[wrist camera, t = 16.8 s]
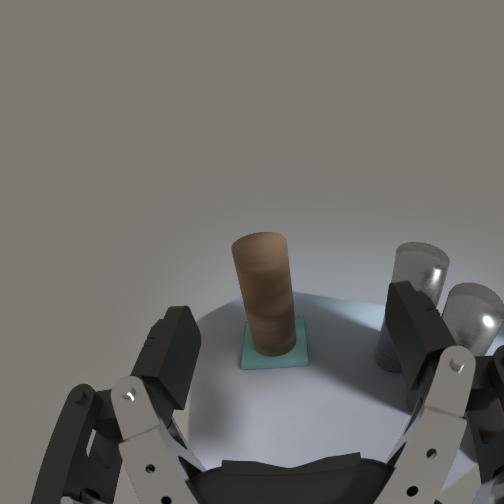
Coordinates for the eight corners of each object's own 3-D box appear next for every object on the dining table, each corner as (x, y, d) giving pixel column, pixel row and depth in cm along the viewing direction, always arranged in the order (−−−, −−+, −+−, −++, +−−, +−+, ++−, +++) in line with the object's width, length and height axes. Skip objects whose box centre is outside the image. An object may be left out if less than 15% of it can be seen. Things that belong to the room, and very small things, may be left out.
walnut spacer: (295, 323, 31) (284, 229, 26) (298, 354, 27) (288, 253, 21) (254, 328, 32) (234, 235, 26) (252, 358, 27) (228, 260, 22)
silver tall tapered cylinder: (404, 334, 26) (428, 239, 21) (423, 363, 22) (460, 265, 17) (368, 344, 26) (386, 246, 21) (385, 377, 22) (416, 277, 16)
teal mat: (303, 320, 32) (303, 316, 32) (308, 365, 26) (308, 361, 26) (247, 324, 33) (246, 321, 33) (241, 369, 27) (240, 366, 27)
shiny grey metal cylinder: (441, 374, 20) (483, 278, 15) (456, 411, 16) (516, 318, 10) (402, 386, 21) (436, 288, 15) (413, 426, 17) (468, 337, 11)
